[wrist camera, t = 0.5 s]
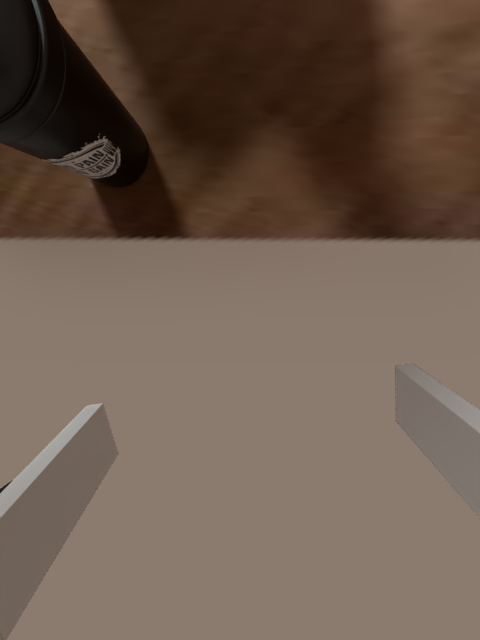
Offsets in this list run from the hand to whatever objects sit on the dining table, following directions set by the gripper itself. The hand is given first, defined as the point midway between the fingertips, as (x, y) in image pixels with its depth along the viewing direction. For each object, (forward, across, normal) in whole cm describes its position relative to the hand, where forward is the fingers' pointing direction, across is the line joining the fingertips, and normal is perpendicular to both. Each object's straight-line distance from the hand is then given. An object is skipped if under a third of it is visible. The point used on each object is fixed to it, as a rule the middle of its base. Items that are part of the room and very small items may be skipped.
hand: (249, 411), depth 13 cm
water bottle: (+28, -14, +21) cm, 37 cm away
